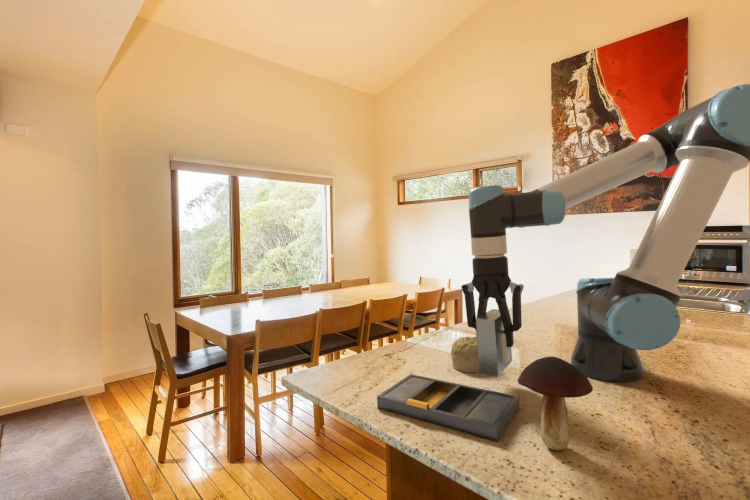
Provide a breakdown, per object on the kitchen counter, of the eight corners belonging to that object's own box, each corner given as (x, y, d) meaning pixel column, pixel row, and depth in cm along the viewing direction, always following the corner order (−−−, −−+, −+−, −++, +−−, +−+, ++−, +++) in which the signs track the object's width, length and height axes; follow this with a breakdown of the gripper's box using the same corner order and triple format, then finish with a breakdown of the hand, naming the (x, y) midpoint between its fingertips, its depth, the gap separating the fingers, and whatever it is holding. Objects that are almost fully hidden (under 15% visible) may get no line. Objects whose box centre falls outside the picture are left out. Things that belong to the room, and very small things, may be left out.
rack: (519, 408, 75) (518, 392, 75) (496, 442, 64) (496, 423, 63) (411, 384, 89) (410, 370, 89) (377, 408, 78) (376, 392, 78)
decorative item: (475, 387, 95) (498, 357, 94) (442, 363, 96) (465, 333, 95) (472, 374, 104) (494, 346, 103) (443, 352, 106) (464, 324, 104)
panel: (512, 360, 88) (508, 310, 87) (498, 376, 79) (494, 320, 79) (495, 358, 90) (491, 309, 90) (479, 373, 82) (476, 318, 81)
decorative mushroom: (508, 433, 66) (506, 349, 65) (568, 428, 67) (566, 345, 66) (541, 472, 55) (538, 372, 55) (611, 465, 56) (610, 366, 55)
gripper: (533, 253, 82) (540, 359, 83) (459, 255, 92) (466, 350, 93) (525, 256, 76) (532, 370, 77) (447, 258, 86) (453, 359, 87)
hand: (496, 359), depth 85 cm, fingers closed on panel, 4 cm apart
